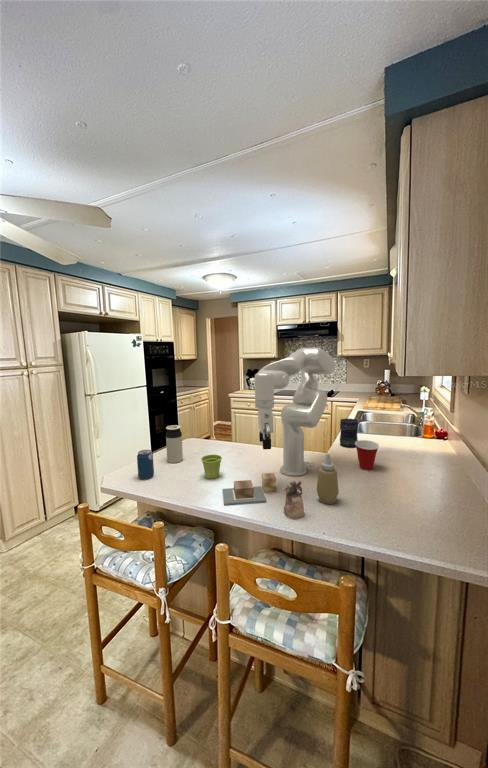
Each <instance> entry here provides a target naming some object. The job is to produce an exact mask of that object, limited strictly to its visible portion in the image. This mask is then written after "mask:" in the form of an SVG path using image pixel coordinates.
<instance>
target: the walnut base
mask: <svg viewBox="0 0 488 768" xmlns="http://www.w3.org/2000/svg"><path fill="white" fill-rule="evenodd" d="M253 487H254V485H253V482H252V479H249V480H248V479H247V480H246V479H245V480H234V481H233V488H234V494H235V499H243V498H254V488H253Z"/></svg>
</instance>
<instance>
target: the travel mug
mask: <svg viewBox="0 0 488 768" xmlns="http://www.w3.org/2000/svg"><path fill="white" fill-rule="evenodd" d="M181 428H182V426H181V425H177V424H174V425H173V424H172V425H167V426H166V427H165V429H166V433H165V439H166V440H165V442H166V443H165V444H166V445H165V446H166V461H167V462H168V463H171V464H176V463H180V462H182V461H183V460H184V457H183V434H182V433H183V432H182V431H181Z"/></svg>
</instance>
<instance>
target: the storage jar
mask: <svg viewBox="0 0 488 768" xmlns="http://www.w3.org/2000/svg"><path fill="white" fill-rule="evenodd" d="M339 426H340V428H339V429H340V435H339V446H340V447H341V448H346V449H357V448H356V445H355V442H356V441H359V440H358V429H359V428H358V427H359V420H358V419H354V418H342V419H341V418H340V422H339Z"/></svg>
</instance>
